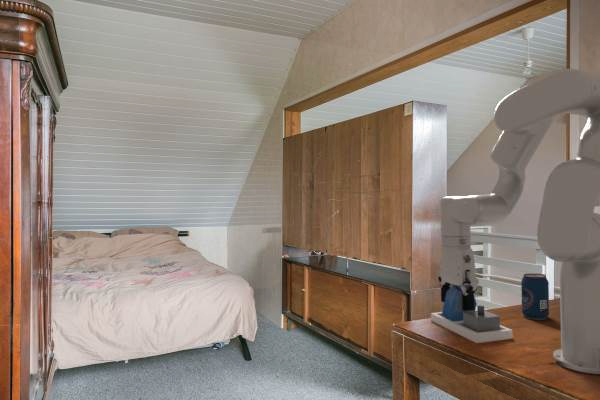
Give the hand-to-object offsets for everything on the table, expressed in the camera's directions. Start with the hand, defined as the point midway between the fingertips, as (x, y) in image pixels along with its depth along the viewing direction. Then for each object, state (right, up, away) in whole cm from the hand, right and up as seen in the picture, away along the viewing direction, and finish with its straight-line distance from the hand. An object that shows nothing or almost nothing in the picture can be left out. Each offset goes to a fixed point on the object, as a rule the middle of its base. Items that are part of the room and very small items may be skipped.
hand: (457, 305), depth 122 cm
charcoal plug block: (+3, -5, -10) cm, 11 cm away
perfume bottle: (0, -4, 0) cm, 4 cm away
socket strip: (+1, -6, -5) cm, 8 cm away
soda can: (+25, -5, +8) cm, 27 cm away
